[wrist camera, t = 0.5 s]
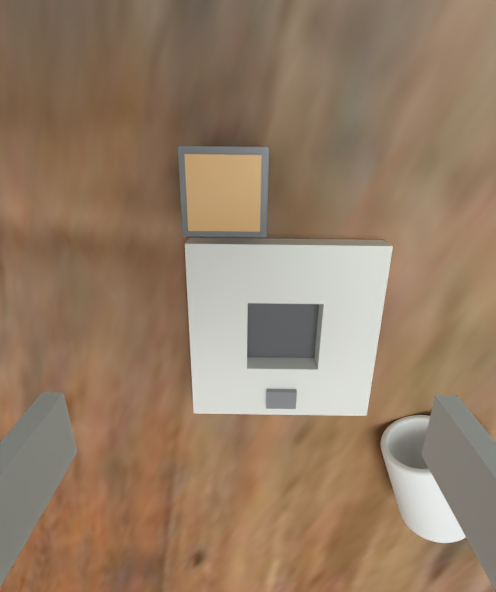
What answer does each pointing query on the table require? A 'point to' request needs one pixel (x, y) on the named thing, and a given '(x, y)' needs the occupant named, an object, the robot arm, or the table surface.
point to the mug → (417, 482)
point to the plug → (223, 191)
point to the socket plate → (284, 323)
